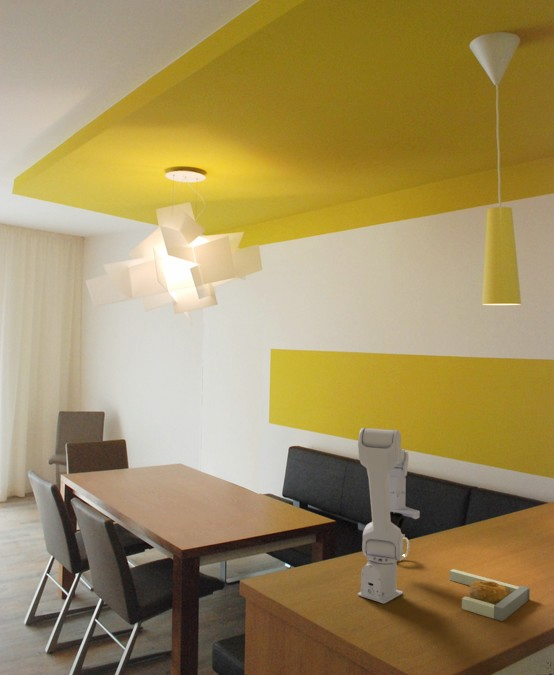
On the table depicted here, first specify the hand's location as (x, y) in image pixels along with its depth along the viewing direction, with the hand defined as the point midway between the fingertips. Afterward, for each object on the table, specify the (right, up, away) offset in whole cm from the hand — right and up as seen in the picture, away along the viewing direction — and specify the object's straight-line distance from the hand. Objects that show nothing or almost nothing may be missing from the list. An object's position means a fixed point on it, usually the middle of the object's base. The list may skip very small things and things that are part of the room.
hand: (394, 539), depth 175 cm
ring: (+3, -10, +10) cm, 14 cm away
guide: (+17, -9, -17) cm, 26 cm away
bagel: (+21, -10, -18) cm, 30 cm away
